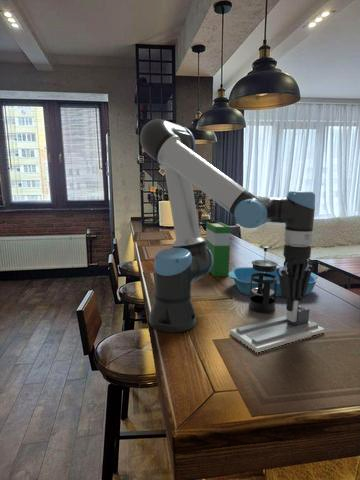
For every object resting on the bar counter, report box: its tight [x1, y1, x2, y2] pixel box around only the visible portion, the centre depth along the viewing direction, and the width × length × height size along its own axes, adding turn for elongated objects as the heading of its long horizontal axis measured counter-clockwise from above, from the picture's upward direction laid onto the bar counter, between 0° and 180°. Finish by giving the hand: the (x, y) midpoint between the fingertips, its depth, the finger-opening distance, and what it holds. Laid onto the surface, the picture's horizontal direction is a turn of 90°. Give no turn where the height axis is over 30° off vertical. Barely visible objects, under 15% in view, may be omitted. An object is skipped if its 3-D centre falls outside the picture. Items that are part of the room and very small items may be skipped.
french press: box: [248, 244, 279, 314], centre depth 112 cm, size 12×9×23 cm
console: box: [229, 315, 325, 354], centre depth 95 cm, size 26×12×2 cm, turn 117°
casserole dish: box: [228, 266, 318, 297], centre depth 135 cm, size 37×22×7 cm, turn 89°
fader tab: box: [287, 304, 310, 326], centre depth 98 cm, size 4×4×6 cm
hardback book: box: [205, 221, 231, 277], centre depth 159 cm, size 18×7×24 cm, turn 9°
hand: (291, 319), depth 97 cm, fingers closed
